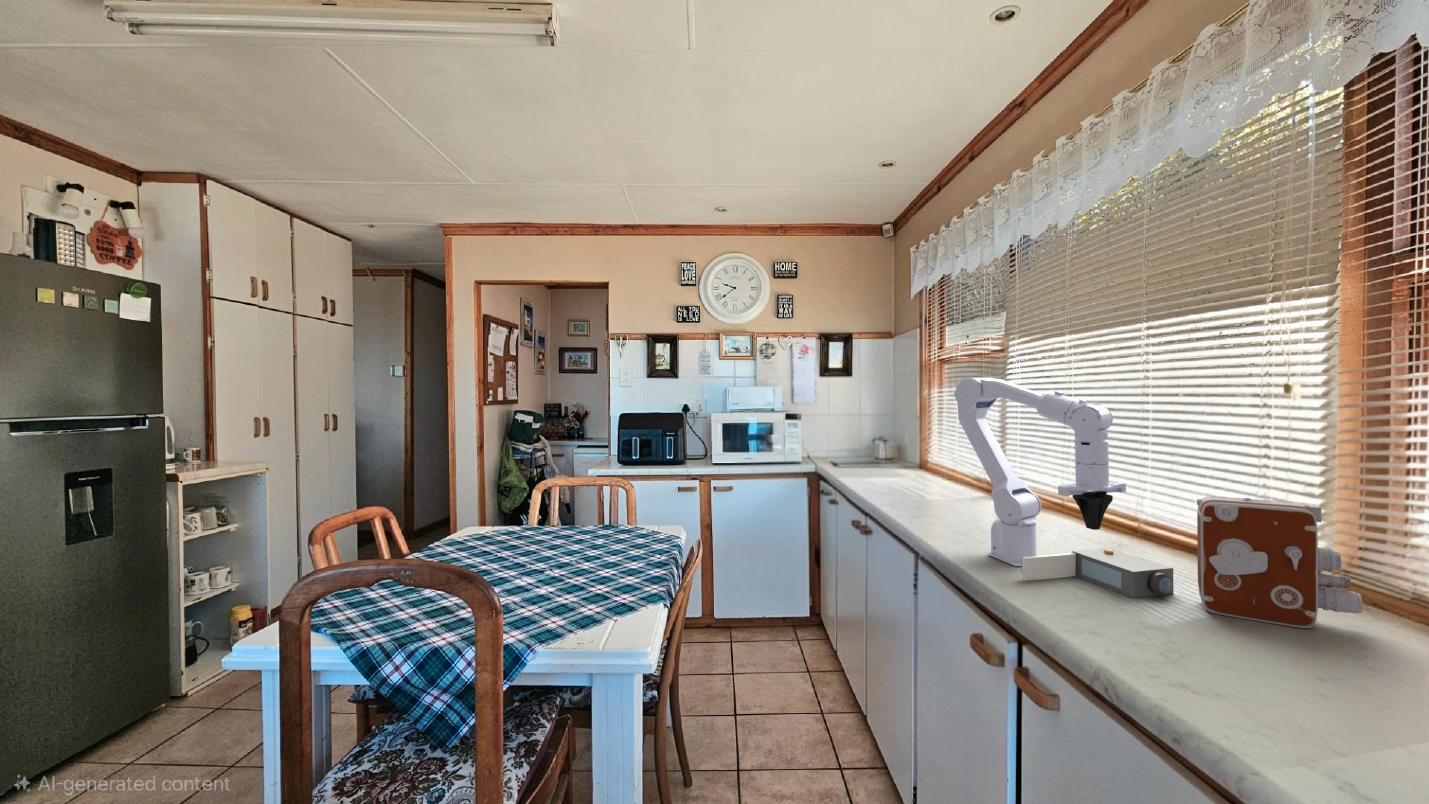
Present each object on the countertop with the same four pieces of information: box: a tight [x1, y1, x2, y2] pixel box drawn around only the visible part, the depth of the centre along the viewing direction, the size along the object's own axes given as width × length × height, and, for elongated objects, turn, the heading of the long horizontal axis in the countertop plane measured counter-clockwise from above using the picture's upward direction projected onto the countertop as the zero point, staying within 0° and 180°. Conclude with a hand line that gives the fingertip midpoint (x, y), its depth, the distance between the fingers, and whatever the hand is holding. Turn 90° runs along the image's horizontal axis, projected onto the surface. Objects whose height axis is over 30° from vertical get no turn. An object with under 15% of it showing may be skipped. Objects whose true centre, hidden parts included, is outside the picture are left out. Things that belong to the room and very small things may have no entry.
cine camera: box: [1196, 496, 1364, 629], centre depth 93 cm, size 9×19×20 cm, turn 53°
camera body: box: [1071, 547, 1174, 599], centre depth 110 cm, size 16×9×6 cm, turn 11°
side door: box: [1021, 552, 1077, 581], centre depth 116 cm, size 12×1×5 cm, turn 101°
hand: (1092, 528), depth 115 cm, fingers closed
